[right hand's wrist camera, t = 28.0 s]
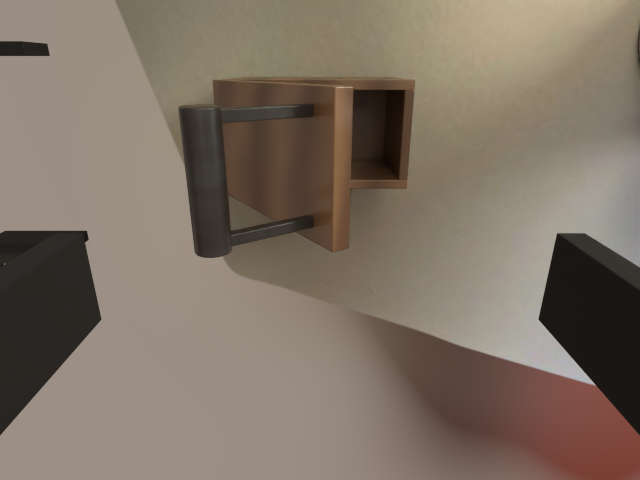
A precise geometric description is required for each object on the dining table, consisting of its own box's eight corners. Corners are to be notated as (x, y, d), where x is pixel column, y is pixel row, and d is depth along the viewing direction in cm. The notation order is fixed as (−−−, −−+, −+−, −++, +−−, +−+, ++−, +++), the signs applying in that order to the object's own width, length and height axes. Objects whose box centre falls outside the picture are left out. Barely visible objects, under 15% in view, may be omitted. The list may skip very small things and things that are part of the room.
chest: (393, 77, 47) (415, 79, 36) (388, 163, 50) (406, 188, 40) (243, 77, 47) (221, 79, 36) (248, 163, 50) (229, 188, 40)
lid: (354, 86, 23) (194, 89, 18) (349, 248, 27) (213, 285, 22) (226, 79, 36) (114, 81, 31) (234, 189, 39) (134, 205, 35)
